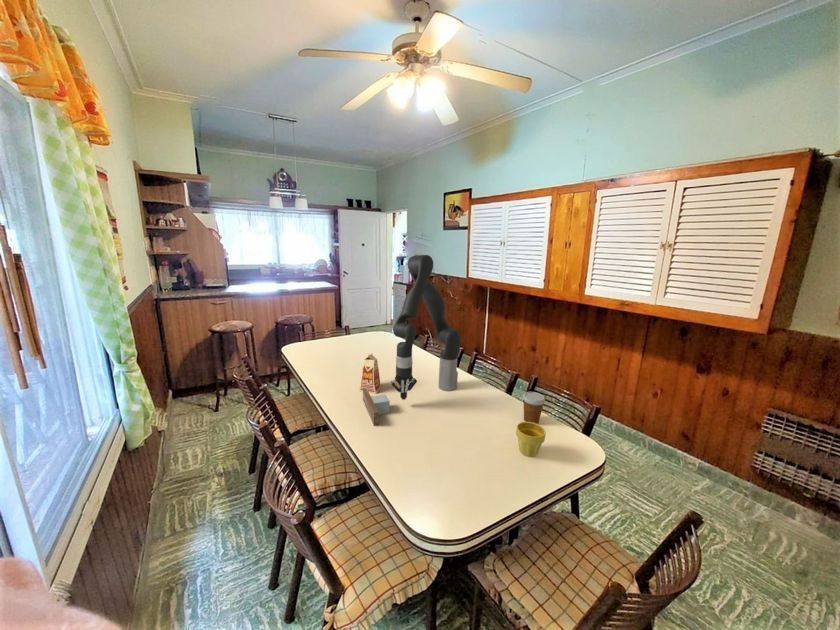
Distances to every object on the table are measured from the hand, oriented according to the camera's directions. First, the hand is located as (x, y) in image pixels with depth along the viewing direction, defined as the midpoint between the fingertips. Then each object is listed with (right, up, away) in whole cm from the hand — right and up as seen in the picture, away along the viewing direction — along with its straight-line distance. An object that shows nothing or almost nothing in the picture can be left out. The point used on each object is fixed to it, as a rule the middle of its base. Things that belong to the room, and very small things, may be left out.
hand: (403, 398), depth 154 cm
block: (-11, -5, -3) cm, 12 cm away
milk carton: (-19, 0, +18) cm, 26 cm away
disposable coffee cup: (+58, -8, -8) cm, 59 cm away
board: (-15, -5, -5) cm, 17 cm away
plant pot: (+49, -13, -30) cm, 59 cm away
